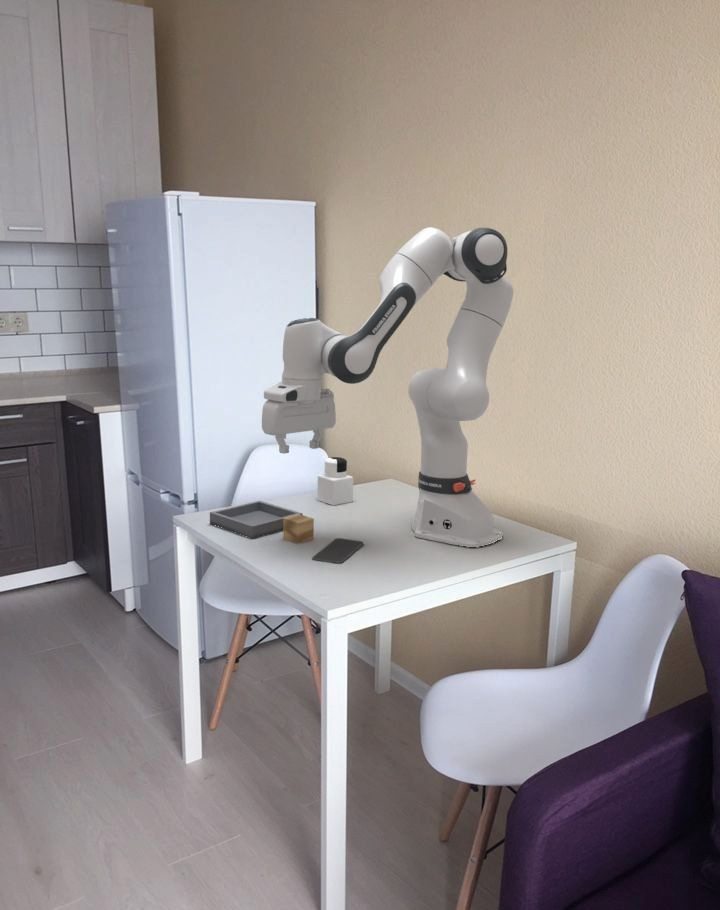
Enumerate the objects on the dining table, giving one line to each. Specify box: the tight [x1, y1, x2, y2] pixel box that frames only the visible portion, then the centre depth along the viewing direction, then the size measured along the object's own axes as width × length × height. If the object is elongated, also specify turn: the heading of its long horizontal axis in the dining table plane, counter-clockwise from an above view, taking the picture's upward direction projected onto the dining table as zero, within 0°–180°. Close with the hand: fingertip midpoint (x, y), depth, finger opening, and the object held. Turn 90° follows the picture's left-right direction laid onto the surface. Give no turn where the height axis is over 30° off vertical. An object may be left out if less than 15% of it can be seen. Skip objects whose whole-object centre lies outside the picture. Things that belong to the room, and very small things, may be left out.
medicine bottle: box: [317, 456, 354, 506], centre depth 220 cm, size 7×7×12 cm
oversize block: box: [282, 514, 315, 544], centre depth 188 cm, size 5×5×5 cm
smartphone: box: [311, 537, 365, 565], centre depth 180 cm, size 7×1×15 cm
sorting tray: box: [209, 500, 303, 540], centre depth 198 cm, size 16×16×3 cm
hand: (299, 450), depth 185 cm, fingers open, 8 cm apart
